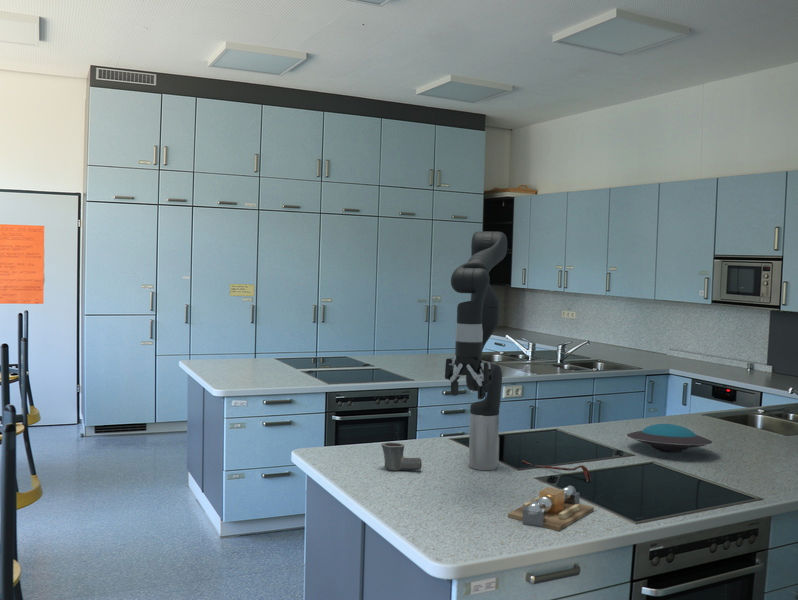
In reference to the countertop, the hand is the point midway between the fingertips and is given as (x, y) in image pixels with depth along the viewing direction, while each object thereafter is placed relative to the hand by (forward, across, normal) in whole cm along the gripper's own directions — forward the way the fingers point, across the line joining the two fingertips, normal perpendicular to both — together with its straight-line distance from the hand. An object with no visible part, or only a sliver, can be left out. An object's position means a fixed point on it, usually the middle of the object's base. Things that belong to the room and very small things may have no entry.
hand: (467, 397), depth 193 cm
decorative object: (+28, -28, -89) cm, 97 cm away
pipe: (+27, +27, -5) cm, 39 cm away
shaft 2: (+27, -27, -9) cm, 39 cm away
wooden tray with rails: (+27, -26, 0) cm, 38 cm away
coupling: (+26, -26, 0) cm, 37 cm away
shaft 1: (+27, -26, +10) cm, 39 cm away
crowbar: (+28, -10, -36) cm, 47 cm away
